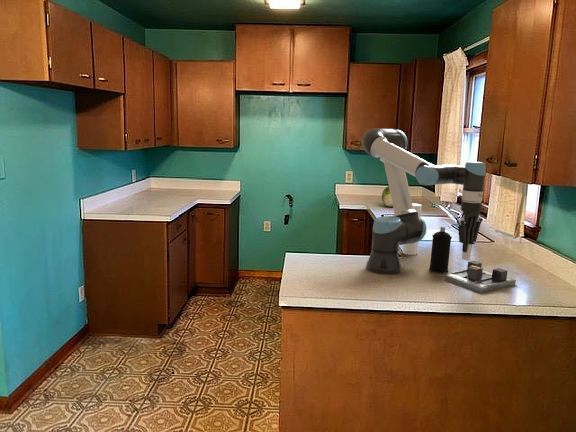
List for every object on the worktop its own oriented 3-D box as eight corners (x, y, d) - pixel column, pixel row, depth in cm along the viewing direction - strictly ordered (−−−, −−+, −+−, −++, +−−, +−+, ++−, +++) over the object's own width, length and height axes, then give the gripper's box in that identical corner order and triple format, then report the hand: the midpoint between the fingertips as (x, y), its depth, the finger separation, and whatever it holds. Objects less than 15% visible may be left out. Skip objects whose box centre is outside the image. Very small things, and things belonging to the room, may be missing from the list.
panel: (481, 293, 183) (483, 277, 182) (444, 279, 198) (445, 264, 197) (515, 284, 194) (517, 269, 193) (477, 272, 209) (479, 258, 208)
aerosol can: (438, 274, 205) (443, 229, 201) (425, 268, 212) (429, 225, 208) (452, 272, 209) (456, 228, 205) (438, 266, 216) (442, 224, 212)
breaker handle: (475, 280, 191) (476, 268, 190) (467, 277, 194) (468, 266, 193) (481, 278, 193) (482, 267, 192) (473, 276, 196) (474, 264, 195)
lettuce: (386, 216, 369) (373, 199, 369) (392, 206, 389) (379, 191, 389) (403, 204, 360) (389, 187, 360) (408, 195, 380) (395, 179, 380)
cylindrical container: (401, 253, 236) (405, 204, 231) (403, 250, 242) (407, 202, 238) (416, 255, 233) (420, 206, 229) (418, 252, 240) (422, 204, 235)
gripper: (469, 203, 177) (463, 264, 181) (490, 201, 184) (484, 259, 188) (452, 200, 183) (447, 259, 188) (474, 199, 190) (468, 255, 195)
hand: (465, 259), depth 188 cm, fingers closed
